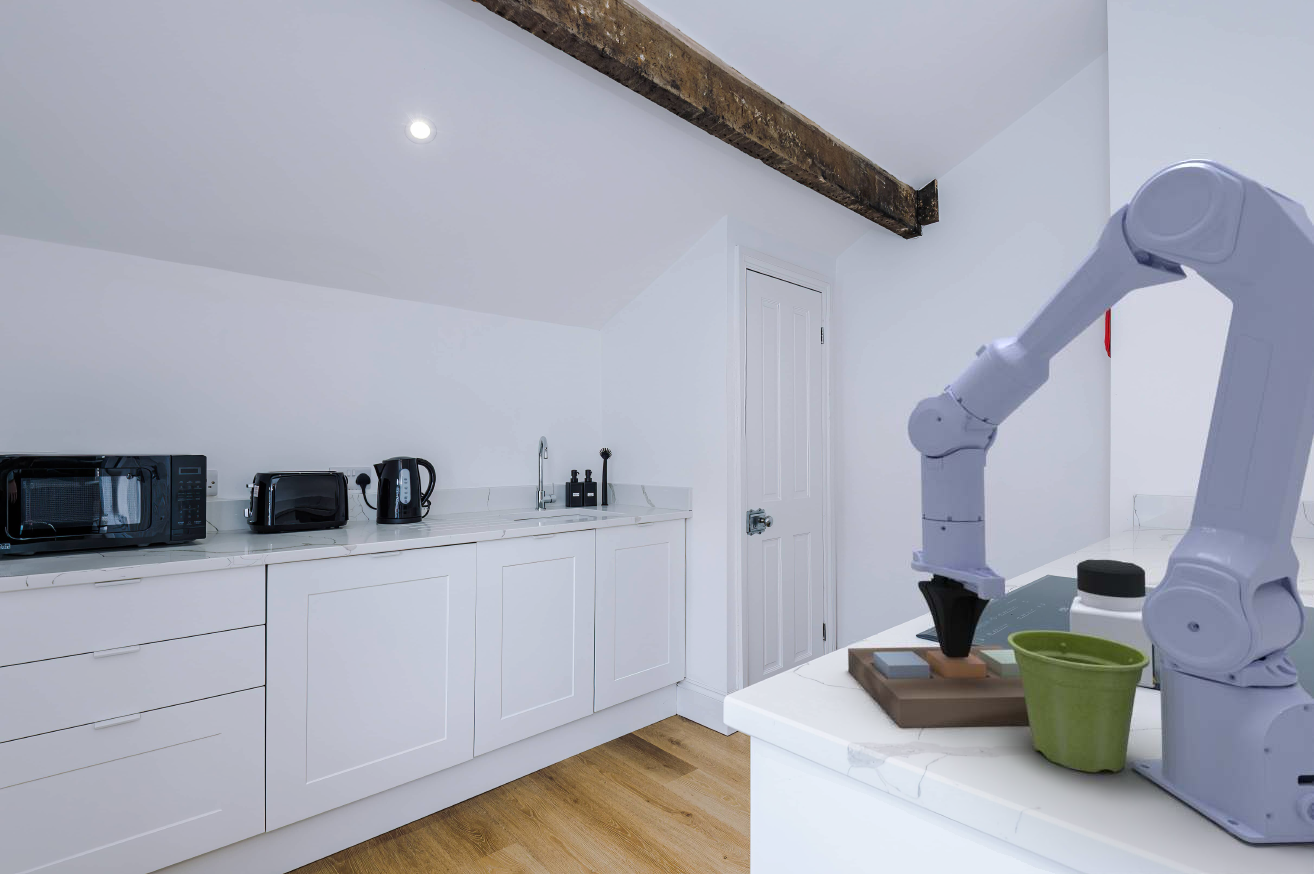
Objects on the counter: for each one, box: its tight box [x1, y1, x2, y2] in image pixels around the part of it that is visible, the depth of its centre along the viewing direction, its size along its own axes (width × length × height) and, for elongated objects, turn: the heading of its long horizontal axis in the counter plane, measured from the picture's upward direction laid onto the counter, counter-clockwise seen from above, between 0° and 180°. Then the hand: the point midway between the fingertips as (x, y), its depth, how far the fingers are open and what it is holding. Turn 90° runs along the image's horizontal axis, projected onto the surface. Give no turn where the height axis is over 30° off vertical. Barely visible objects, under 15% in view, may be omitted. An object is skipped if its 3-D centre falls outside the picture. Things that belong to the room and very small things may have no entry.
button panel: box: [847, 645, 1030, 729], centre depth 62 cm, size 14×17×2 cm
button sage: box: [979, 649, 1021, 677], centre depth 62 cm, size 4×4×2 cm
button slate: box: [874, 651, 930, 679], centre depth 62 cm, size 4×4×2 cm
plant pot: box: [1007, 629, 1150, 773], centre depth 50 cm, size 9×9×9 cm
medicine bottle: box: [1069, 558, 1156, 689], centre depth 68 cm, size 7×7×12 cm
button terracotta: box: [927, 651, 987, 678], centre depth 62 cm, size 4×4×2 cm
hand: (955, 655), depth 62 cm, fingers closed
